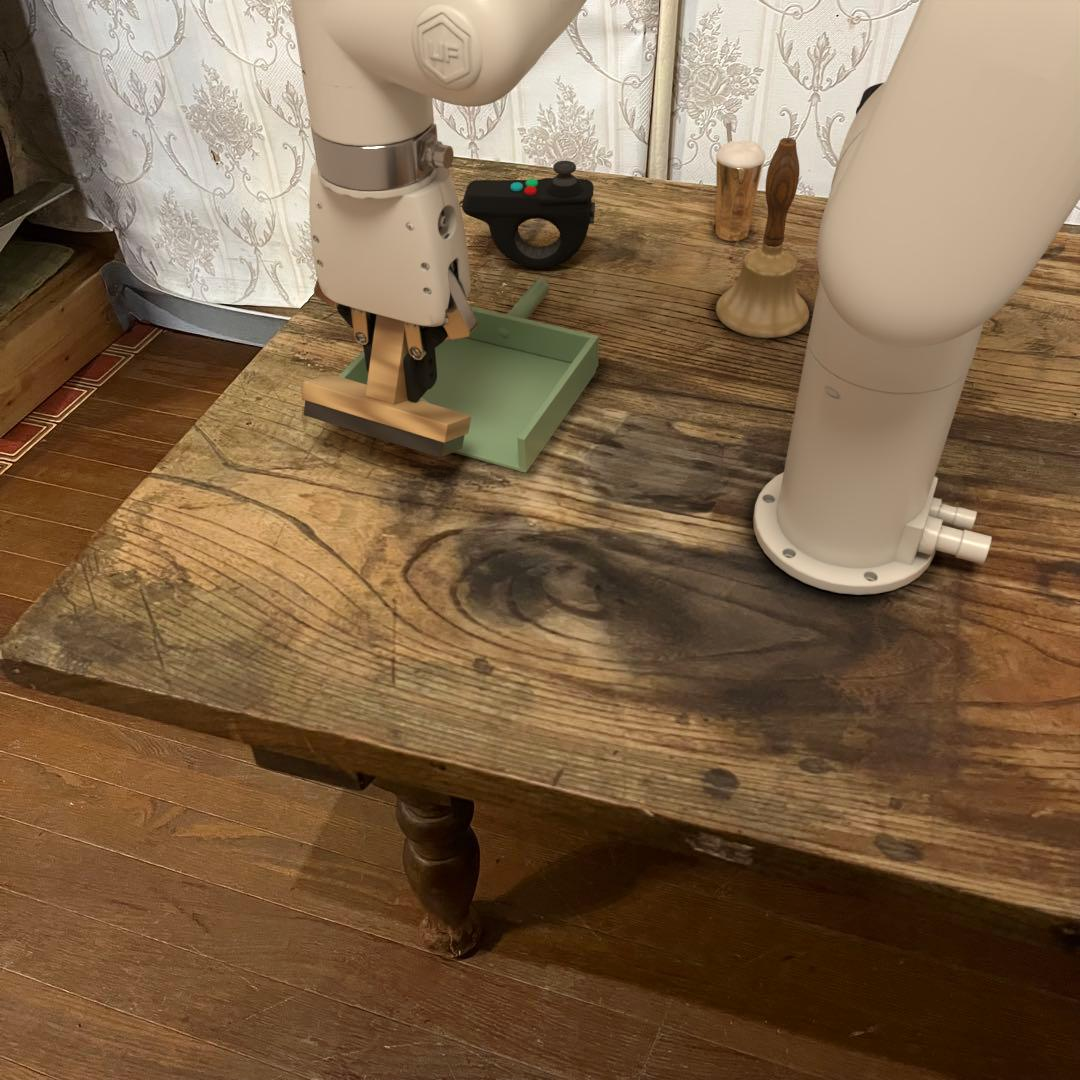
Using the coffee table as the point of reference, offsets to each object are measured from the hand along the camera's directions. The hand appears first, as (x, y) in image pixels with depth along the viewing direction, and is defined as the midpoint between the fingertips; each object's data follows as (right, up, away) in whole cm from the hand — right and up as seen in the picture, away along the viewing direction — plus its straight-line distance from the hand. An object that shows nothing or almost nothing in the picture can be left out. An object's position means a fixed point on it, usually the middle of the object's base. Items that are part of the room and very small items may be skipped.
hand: (403, 384), depth 78 cm
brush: (-1, -4, -1) cm, 4 cm away
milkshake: (+29, +19, +26) cm, 44 cm away
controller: (+9, +15, +23) cm, 29 cm away
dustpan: (+6, +3, +11) cm, 13 cm away
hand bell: (+30, +9, +16) cm, 35 cm away
